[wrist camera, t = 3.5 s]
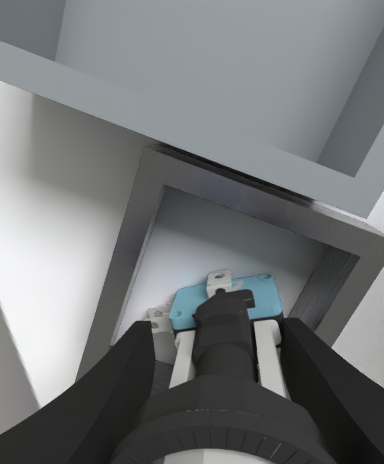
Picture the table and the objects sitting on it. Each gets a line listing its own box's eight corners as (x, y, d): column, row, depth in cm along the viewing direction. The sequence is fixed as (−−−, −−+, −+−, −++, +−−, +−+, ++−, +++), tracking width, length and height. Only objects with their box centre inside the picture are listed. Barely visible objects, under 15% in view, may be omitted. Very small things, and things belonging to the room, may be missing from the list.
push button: (165, 349, 16) (75, 653, 7) (136, 261, 15) (-32, 495, 5) (290, 333, 15) (395, 680, 5) (272, 235, 13) (373, 480, 4)
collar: (365, 222, 13) (398, 242, 11) (256, 407, 17) (264, 451, 15) (155, 144, 13) (144, 147, 10) (91, 354, 17) (71, 391, 14)
